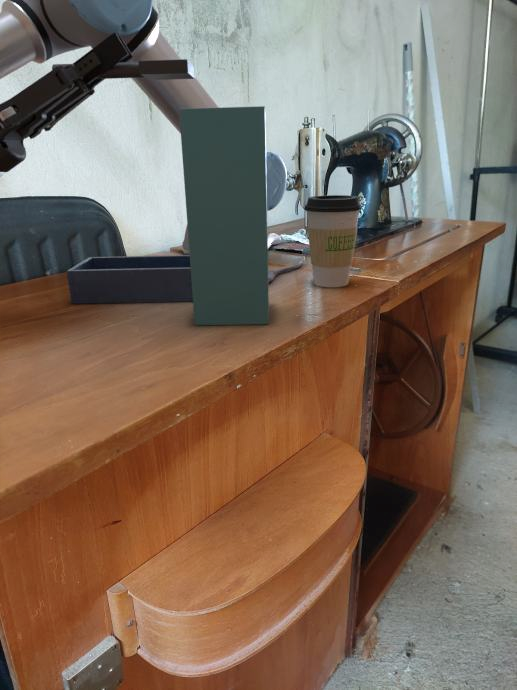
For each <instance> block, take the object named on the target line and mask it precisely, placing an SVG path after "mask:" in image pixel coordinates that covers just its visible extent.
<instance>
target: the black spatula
mask: <svg viewBox="0 0 517 690" xmlns="http://www.w3.org/2000/svg"><path fill="white" fill-rule="evenodd" d="M70 64H72V66H73V67H74V64H73V63H57V64H52V66H51V71H52V70H53V69H55V68H56V67H57V66H59V65H62V66H63V67H64V68H65V67H66V66H67V65H70ZM194 76H195V66H194V65H193V64H192V63H191V62H190V61H189V60H188V59H187V58H186V59H185V58H184V59H183V58H181V59H179V60H147V61H138V62H119V63H117V64H116V65H115V66H113V67H112V68H110V69H109V70H108V71H106V72H105V73H104V74H102V75H101V76H100V77H98V78H97V79H104V80H112V79H132V78H147V79H149V80H171V79H194Z"/></svg>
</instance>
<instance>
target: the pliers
mask: <svg viewBox="0 0 517 690" xmlns="http://www.w3.org/2000/svg"><path fill="white" fill-rule="evenodd" d="M302 264H303V263H302V260H301V259H299V260H298V262H297V263H295V264H293V265H289V266H284V267H280V268H277V269H272V270H268V284H269V283H270V282H272V281H273V280H274V279H275V277H276V276H277V275H279V274H282V273H285V272H290V271H292V270H297V269H298V268H299V267H301V266H302Z"/></svg>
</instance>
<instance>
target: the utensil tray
mask: <svg viewBox="0 0 517 690" xmlns="http://www.w3.org/2000/svg"><path fill="white" fill-rule="evenodd" d="M66 277H67V282H68V289H69V295H70V301H71V305H72V304H74V305H79V304H83V305H84V304H129V303H130V304H131V303H133V304H134V303H175V302H176V303H180V302H193V293H192V280H191V266H190V255H185V254H183V255H182V254H177V255H176V254H175V255H174V254H173V255H169V254H168V255H159V256H147V255H133V256H131V255H130V256H129V255H127V256H89V257H87V258H86V259H83V260H82V261H80V262H79V263H77V264H76V265H74V266H73V267H70V268H69V269H68V270H66Z"/></svg>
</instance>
